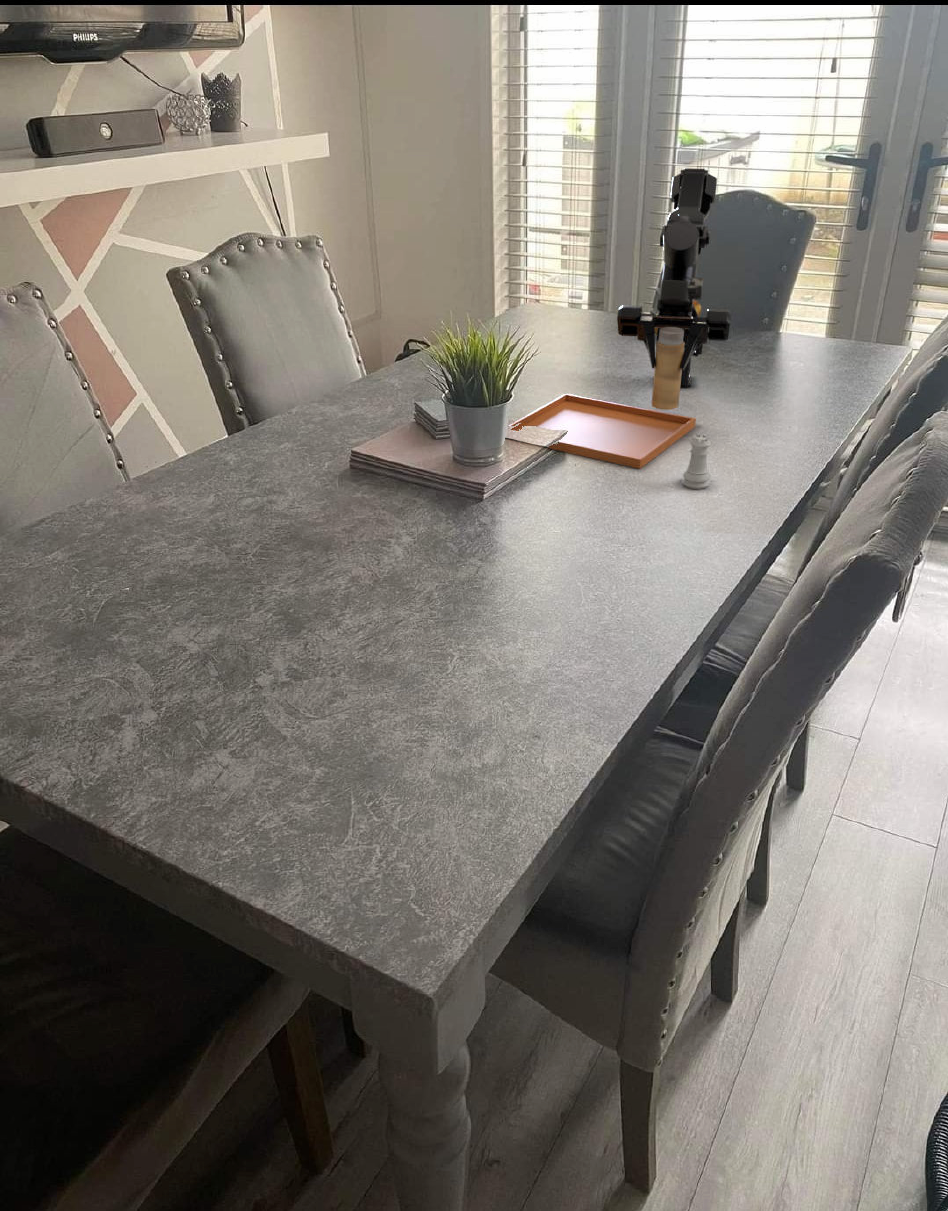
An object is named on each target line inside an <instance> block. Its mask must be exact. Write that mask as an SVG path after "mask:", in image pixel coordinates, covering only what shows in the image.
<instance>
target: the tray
mask: <svg viewBox="0 0 948 1211" xmlns="http://www.w3.org/2000/svg"><path fill="white" fill-rule="evenodd" d="M696 421H697V418H696V417H690V416H685V415H680V414H675V413H669V412H666V411H665V412H664V411H660V410H659V411H658V410H655V409H654V410H653V409H648V408H644V407H638V406H633V405H627V404H622V403H617V402H611V401H607V400H601V399H596V398H590V397H586V396H580V395H575V394H569V393H563V394H562V395H560V396H558V397H556V398H555V399H552V400H551V401H549V402H548V403H546V404H544V405H542V406H540V407H539V408H537V409H535V410H533V411H532V412H530V413H528V414H526V415H525V416H522V417H521V418H519V419H517V420H516V421H514V422H512V423H510V424H509V426H515V425H516V424H518V423H521V424H519V425H518V426H516V427H514V428H512V429H511V430H513V431H519V429H520V430H521V429H522V426H523V427H524V426H536V427H541V428H546V429H551V430H567V431H568V432H567V434H566V435H565V436H564V437H563V438H562V439H561V440H559V442H558V444H557V445H556V444H553V445H551V446H549V447H548V448H547V449H550V450H554V451H560V452H563V453H569V454H572V455H577V456H581V457H586V458H592V459H593V460H594V459H595V460H600V461H604V462H609V463H612V464H617V465H621V466H627V467H630V468H635V469H639V470H640V469H641V468H643V467H645V466H646V465H648V464H649V462H651V461H652V460H653V459H655V458H656V457H658V456H659V455H660V454H661V453H663V452H664V451H665V450H667V449H668V448H669V447H671V446H672V445H674V444H675V443H676V442H677V441H679V440H680V439H681V438H682V437H684V436H685V435H686V434H688V433H689V432H690V431H691V430H694V428H696Z"/></svg>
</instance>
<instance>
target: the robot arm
mask: <svg viewBox="0 0 948 1211" xmlns="http://www.w3.org/2000/svg"><path fill="white" fill-rule="evenodd" d="M717 187H718V178H717V177H716V176H713V175H712V174H710V173H709V170H708V169H705V168H691V167H689V168H687V167H686V168H684V169H680V173H679V174H677V175H674V176H673V177H672V180H671V191H670V202H671V203H672V204H673V211H672V212H670V213H669V214H668V217H667V221H666V225H662V228H661V232H660V236H659V247H661V248H663V250H662V251H663V253H662V254H663V255H662V257H663V259H662V260H663V270H662V278H661V281H660V290H659V293H658V296H657V301H656V303H657V304H656V311H657V313H656V314H657V315H656V314H654V313H653V312H648V311H647V312H644V311H643V306H642V305H625V304H624V305H623V304H622V305H621V306H620V307H619V308H618V310H617V316H616V318H617V319H616V323H617V334H618V335H619V336H622V337H637V340H638V341H642V342H643V344H644V345H645V349H646V351H647V353H648V358H649V362H650V366H651V369H655V357H656V345H657V341H658V340H659V331H660V329H661V328H665V327H676V328H681V329H683V330H684V335H683V341H684V343H685V344H684V354H683V360H682V369H681V370H682V375H681V385H680V388H681V387H682V388H691V387H692V376H691V375H690V374H691V363H692V357H698V356H700V355H702V354H703V345H706V344H707V343H708V341H719V342H725V341H727V340H728V339H729V334H730V328H731V318H732V314H731V312H730V310H728V309H714V308H713V309H711V308H709V309H708V308H707V311H706V317H703V316H699V317H698V314H697V312H696V310H695V307H694V305H693V300H700V301H701V300H702V298H703V297H702V295H703V286H704V278H703V277H697V274H698V265H699V261H698V259H699V255H701V253H702V249H705V248H706V247H707V246H708V245H710V241H711V233H710V231H709V229H708V225H707V226H706V225H705V222H707V221H706V220H707V219H708V218H709V216H710V214H711V207H712V204H715V203H716V195H717ZM655 327H657V328H658V329H657V335H656V334H655Z"/></svg>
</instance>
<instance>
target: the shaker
mask: <svg viewBox="0 0 948 1211" xmlns="http://www.w3.org/2000/svg"><path fill="white" fill-rule="evenodd" d="M683 335H684V330H683V329H681V328H676V327H665V328H661V329H660V331H659V340H658V341H657V340H656V342H657V345H656V344H655V367H654V368H653V369H654V371H653V383H652V395H651V406H652V408H654V409H656V410H662V411H663V410H664V411H670V410H675V409H677V408H679V405H680V393H681V387H680V385H681V375H682V370H681V369H682V360H683V354H684V344H685V343H684V341H683Z"/></svg>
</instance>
